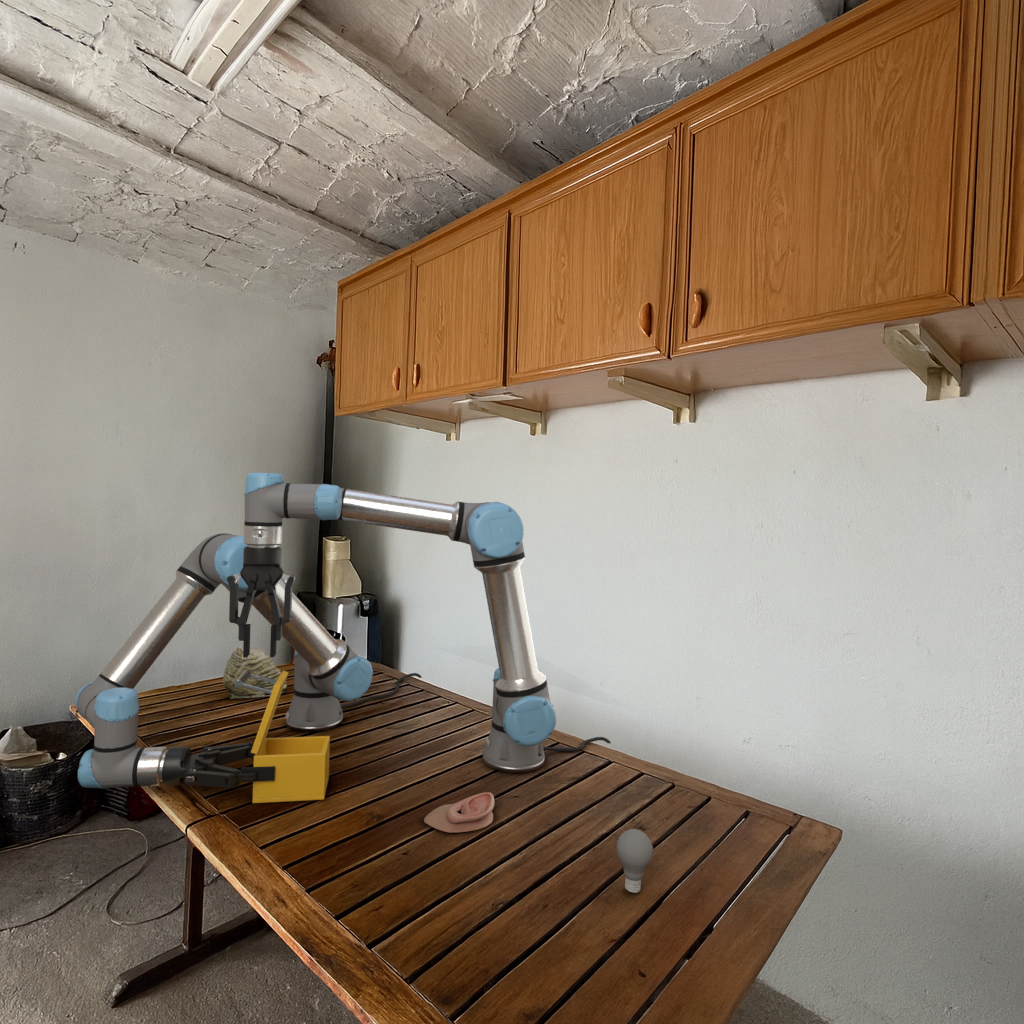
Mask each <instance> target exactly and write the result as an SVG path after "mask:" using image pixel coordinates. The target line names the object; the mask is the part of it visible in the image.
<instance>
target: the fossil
mask: <svg viewBox="0 0 1024 1024" xmlns="http://www.w3.org/2000/svg"><path fill="white" fill-rule="evenodd" d="M245 670H250V671H251V673H253V674H256V675H260V676H264V677H267V678H271V679H275V680H277V679H278V678H279V676H280V675H281V673H282V671H281V669H279V668H278V667H277V665H276V663H275V662H274V660H273V659H272V657H270V655H268V654H267V653H266V652H265V650H264V649H263V648H260V647H258V648H250V655H249V656H248V657H247V658H243V646H238V647H237V648H236V649H235V650H233V651H232V653H231V656H230V657H229V659H228V660H227V663H226V666H225V668H224V671H223V675H222V676H223V677H222V685H223V687H224V688H225V690H226V691H228V693H229V698H230V699H250V698H264V697H270V696H271V694H268V693H265V692H261V691H257V690H254V689H250V688H246V687H241V688H236V687H235V685H234V683H235V681H236V680H237V679H238V678H239V676H240V675H241V674H242V673H243V672H244V671H245ZM245 683H248V684H251V685H255V686H259V687H263V688H266V689H270V690H273V687H274V683H270V682H266V681H263V680H259V679H255V678H252V677H249V678H248V679H247V680H246V682H245ZM287 687H288V686H287V680H286V681H285V684H284V687H283V690H282V693H281V694H284V693H285V691H286V689H287Z"/></svg>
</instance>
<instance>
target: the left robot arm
mask: <svg viewBox="0 0 1024 1024" xmlns="http://www.w3.org/2000/svg"><path fill="white" fill-rule="evenodd" d="M246 546H247V545H246V544H244V535H238V534H232V533H227V532H226V533H225V532H224V533H223V532H222V533H216V534H213V535H210V536H208V537H206V538H205V539H204V540H203V539H202V540H201V542H200V543H199V544H198V545H196V547H195V548H194V549H193V550H192V551H191V552H190V553H189V554H188V556H187V557H186V558H185V559H184V561H183V562H182V563H181V565H180V566H179V567H178V568H177V570H175V572H174V573H175V579H174V581H173V582H172V583H171V584H170V585H169V586H168V588H167V590H166V591H165V592H164V593H163V594H162V596H161V597H160V598H159V599H158V601H157V602H156V603H155V604H154V606H153V607H152V608H151V610H150V611H149V612H148V613H147V614H146V616H145V617H144V618H143V620H141V622H140V623H139V625H138V626H137V627H136V628H135V630H134V631H133V632H132V633H131V634H130V635H129V638H127V640H126V641H125V642H124V644H123V645H122V646H121V647H120V649H119V650H118V651H117V652H116V654H115V655H114V656H113V657H112V659H110V661H109V663H108V664H107V665H106V666H105V667H104V668H103V670H102V671H101V672H100V674H99V675H98V676H97V677H96V678H95V680H93V681H91V682H88V683H86V684H85V685H83V686H81V687H80V689H79V690H78V691H77V693H76V695H75V697H74V705H75V708H76V710H77V713H79V715H80V717H82V718H83V719H84V720H86V721H87V722H88V723H89V724H90V726H91V727H92V728H93V729H94V731H93V733H94V734H93V737H94V739H93V740H94V742H93V748H90V749H89V750H86V751H84V753H83V755H82V756H81V758H80V760H79V763H78V764H79V766H78V769H77V781H78V783H79V785H80V786H81V787H82V788H86V789H102V790H106V789H117V788H135V787H138V788H140V787H147V788H148V789H152V788H154V787H159V786H162V785H164V786H165V787H169V786H170V787H172V786H183V785H184V786H203V787H204V786H205V787H213V788H223V789H224V788H225V789H232V788H234V789H235V788H239V787H240V783H249V782H250V783H253V782H254V781H274V779H275V766H266V767H253V766H241V768H240V769H239V768H235V767H234V768H233V767H229V766H225V765H227V764H232V763H235V762H240V761H245V760H249V759H251V761H254V756H255V754H254V753H251V750H252V747H253V744H254V742H253V741H250V742H249V741H248V742H241V743H233V744H226V745H225V744H224V745H218V746H204V747H203V748H202V751H201V752H199V753H192V750H191V748H190V747H189V746H171V747H168V746H149V747H138V727H139V711H140V703H139V693H138V691H137V690H136V689H135V687H136V686H137V685H138V683H139V682H140V681H141V680H142V679H143V677H144V676H145V674H146V673H147V672H148V670H149V669H150V668H151V666H152V665H153V664H154V663H155V661H156V660H157V659H158V657H160V655H161V654H162V652H163V651H164V650H165V648H167V646H168V644H169V643H170V642H171V641H172V640H173V638H174V637H175V636H176V634H177V633H178V632H179V630H180V629H181V628H182V626H183V625H184V624H185V623H186V621H187V620H188V618H189V617H190V616H191V615H192V614H193V612H194V611H195V609H196V608H197V607H198V605H199V604H200V603H201V602H202V600H203V599H204V598H205V597H206V596H209V595H212V594H213V593H214V592H215V591H216V590H217V588H218V587H219V586H220V585H222V586H223V587H224V588H225V589H226V590H227V591H228V592H229V593H230V586H229V583H228V581H227V577H228V576H230V575H235V574H238V573H240V572H241V570H242V568H243V549H244V548H245V547H246ZM238 585H239V598H238V603H242V604H244V601H245V597H246V592H247V589H248V585H247V584H246V582H245V581H244V580H243V578H241V579H240V583H239V584H238ZM275 587H276V594H277V598H278V603H279V607H280V611H281V616H282V617H284V596H285V584H284V583H283V579H282V578H281V579H280V580H279V581H278V583H277V584H276V585H275ZM251 606H252V607H253V608H254V609H255V610H256V611H257V612H258V613H259V614H260V615H261V616H262V617H263V618H264V619H265V620H266V621H267V622H268V623H269V624H270V626H272V625H273V624H275V623H274V618H273V614H272V609H271V605H270V601H269V596H268V594H267V590H261V589H260V590H256V592H255V595H254V598H253V602H252V605H251ZM281 638H283V639H284V640H285V641H286V642H287V643H288V644H289V645H290V646H291V647H292V648H293V649H294V655H293V657H294V672H293V695H292V696H293V697H292V699H291V702H290V704H289V708H288V710H287V711H286V714H285V716H284V718H285V726H286V728H287V729H289V730H291V731H294V732H295V731H296V732H301V733H316V732H325V731H329V730H332V729H335V728H337V727H339V726H340V725H342V723H343V722H344V714H343V709H345V708H352V707H354V706H357V705H360V704H362V703H365V702H367V701H371V700H377V699H383V698H387V697H390V696H392V695H394V694H396V693H397V692H398V690H399V689H400V686H401V683H400V682H402V681H403V680H405V679H408V678H410V677H417V678H418V679H422V678H423V677H422V675H421V674H419V673H417V672H411V673H408V674H406V675H403V676H402V677H399V678H398V679H397V680H396V681H395V683H396V686H395V688H394V689H393V690H392V691H390V692H387V693H383V694H377V695H371V696H367V697H363V696H364V695H365V694H366V692H368V690H369V688H370V686H371V684H372V681H373V675H374V670H373V666H372V664H371V662H370V661H369V660H368V659H367V658H365V657H364V656H362V655H358V654H357V653H356V652H355V651H354V650H353V649H352V648H351V647H350V645H349V644H348V643H347V642H346V641H345V640H343V639H340V638H334V637H333V636H332V635H331V634H330V633H329V631H328V630H327V629H326V628H325V627H324V625H322V623H320V621H319V620H318V619H317V618H316V617H315V616H314V615H313V613H312V612H311V611H310V610H309V609H308V608H307V606H306V605H304V603H302V601H301V600H300V599H299V598H298V597H297V596H296V594H295V593H294V592H293V591H292V614H291V620H290V621H289V622H288V623H284V624H282V637H281ZM361 697H363V698H361ZM340 701H343V702H349V703H346V704H345V703H344V704H341V702H340Z"/></svg>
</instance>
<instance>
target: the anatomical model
mask: <svg viewBox="0 0 1024 1024" xmlns="http://www.w3.org/2000/svg"><path fill="white" fill-rule="evenodd" d="M494 808H495V797H494V794H493V793H492V792H490V791H486V792H481V793H477V794H474V795H471V796H468V797H466V798H463V799H462V800H459V801H456V802H455V803H449V804H448V803H447V804H444V805H441V806H439V807H436V808H435V809H433V810H432V811H430V812H429V813H428V814H426V815H425V817H424V818H423V822H424V823H425V824H426V825H428V826H429V827H431V828H433V829H435V830H438V831H441V832H444V833H450V834H453V833H454V834H455V833H464V832H472V831H477V830H480V829H483V828H485V827H487V826H489V825H491V824H492V822H493V820H494V813H493V810H494Z"/></svg>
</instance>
